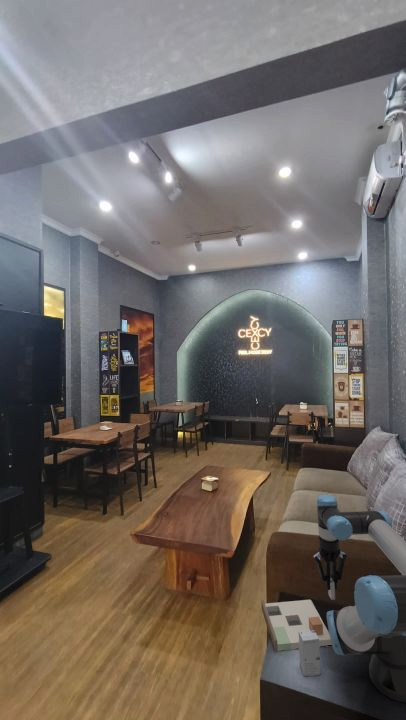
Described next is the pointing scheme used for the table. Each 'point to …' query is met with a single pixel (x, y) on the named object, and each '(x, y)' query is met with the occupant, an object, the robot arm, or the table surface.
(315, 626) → the block
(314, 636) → the skincare box
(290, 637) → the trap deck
